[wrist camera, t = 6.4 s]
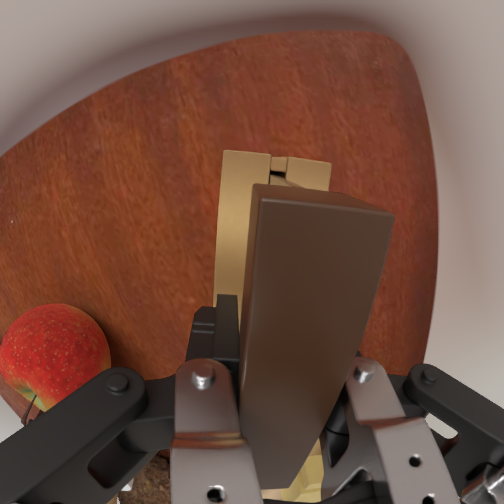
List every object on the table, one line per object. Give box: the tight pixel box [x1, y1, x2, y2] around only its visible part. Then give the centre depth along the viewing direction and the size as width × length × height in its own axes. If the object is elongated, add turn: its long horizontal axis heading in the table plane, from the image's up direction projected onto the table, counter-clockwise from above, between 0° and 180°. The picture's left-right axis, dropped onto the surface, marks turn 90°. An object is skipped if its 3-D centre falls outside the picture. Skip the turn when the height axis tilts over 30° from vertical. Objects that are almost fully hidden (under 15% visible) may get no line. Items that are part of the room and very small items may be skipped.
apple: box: [0, 303, 111, 426], centre depth 13 cm, size 8×8×10 cm
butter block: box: [281, 470, 321, 503], centre depth 24 cm, size 5×10×4 cm, turn 174°
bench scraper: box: [236, 172, 394, 490], centre depth 10 cm, size 10×2×10 cm, turn 175°
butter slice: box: [301, 455, 324, 490], centre depth 22 cm, size 5×2×4 cm, turn 84°
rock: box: [118, 454, 171, 504], centre depth 21 cm, size 10×6×10 cm
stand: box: [213, 150, 332, 332], centre depth 15 cm, size 12×5×4 cm, turn 174°
